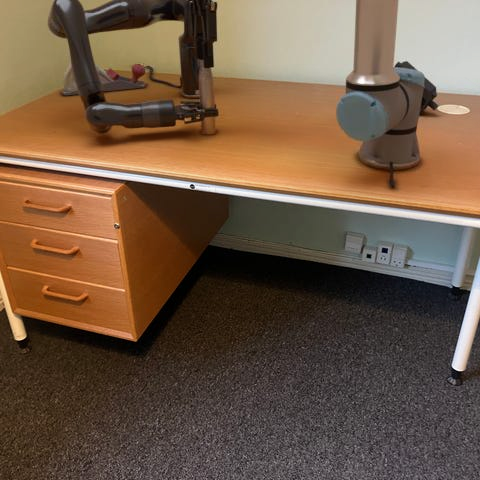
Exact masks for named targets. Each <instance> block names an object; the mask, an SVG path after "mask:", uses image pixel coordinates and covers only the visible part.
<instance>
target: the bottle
mask: <svg viewBox="0 0 480 480" xmlns="http://www.w3.org/2000/svg"><path fill="white" fill-rule="evenodd" d="M214 81H215V80H214V74H213V71H212V68H206V69H205V68H204V67H200V72H199V95H200V98H199V102H200V109H215V104H216V102H215V85H214ZM200 126H201V127H200V128H201V129H200V130H201V134H203V135H207V136H211V135H214V134H216V131H217V129H216V128H217V127H216V117H206V118H205V119H204V121H200Z"/></svg>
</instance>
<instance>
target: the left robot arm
mask: <svg viewBox="0 0 480 480" xmlns="http://www.w3.org/2000/svg"><path fill="white" fill-rule="evenodd" d="M160 22H181V23H183V33H182V34H180V35H178V39H177V40H178V51H179V52H178V53H179V64H180V76H179V83H180V85H175V84H173V83H171V82H169V81H167V80H161V79H157V78H154V77H153V76H152V75H153V71H154V68H153V67H152V66H150V65H148V66H144V65H142V66H143V67H145V68H148V69H150V71H149V78H150V79H151V80H152V81H154V82H158V83H162V84H166V85H168V86H170V87H174V88H177V89H181V91H182V92H181V94H182V96H183V97H184V98H188V99H200V95H199V72H200V67H199V66H198V65H197V58H196V41H195V39H194V36H192V35H191V25H190V12H189V4H188V0H110V1H107V2H106V3H105V2H104V3H103V4H101V5H99V6H97V7H94V8H90V9H85V8H84V6H83V4H82V2H81V1H80V0H53V2H52V4H51V6H50V10H49V13H48V16H47V28H48V30H49V31H50V32H51V34H53V35H54V36H56V37H58V38H61V39H66V41H67V44H68V50H69V57H70V58H69V59H70V63H71V67H72V73H73V77H74V81H75V84H76V87H77V90H78V93H79V94H78V96H79V98H80V99H81V102H82V104H83V108H84V111H85V115H84V116H85V120H86V121H87V124H88V126H89V127H90V130H92V131H93V132H94V133H96V134H98V135H105V134H108V133H109V132H110V131H111V130H112V129H113V127H118V126H119V127H120V126H121V127H123V128H125V129H128V130H129V129H130V130H132V129H134V130H135V129H143V128H144V129H157V128H159V129H160V128H168V127H171V128H172V127H176V125H177V122H176V121H182V122H184V125H189V124H195V123H199V122H200V123H201V121H204V119H205V118H206V117H215V118H217V117H219V115H220V114H219V109H218V108H217V104H216V103H215V109H200V100H198V101H194V100H193V101H191V100H190V101H189V100H188V101H187V100H181V101H180V104H176V105H175V102H174V100H173V99H162V100H149V101H143V102H133V103H120V102H110V101H107V99H106V96H105V91H103V87H102V83H101V80H100V77H99V74H98V71H97V68H96V67H97V65H96V61H95V59H94V54H93V50H92V47H91V42H90V36H89V35H93V34H98V33H109V32H116V31H117V32H118V31H128V30H129V31H130V30H139V29H145V28H147V27H150V26H153V25H154V24H156V23H160ZM135 64H136V63H134V64H133V65H135Z"/></svg>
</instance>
